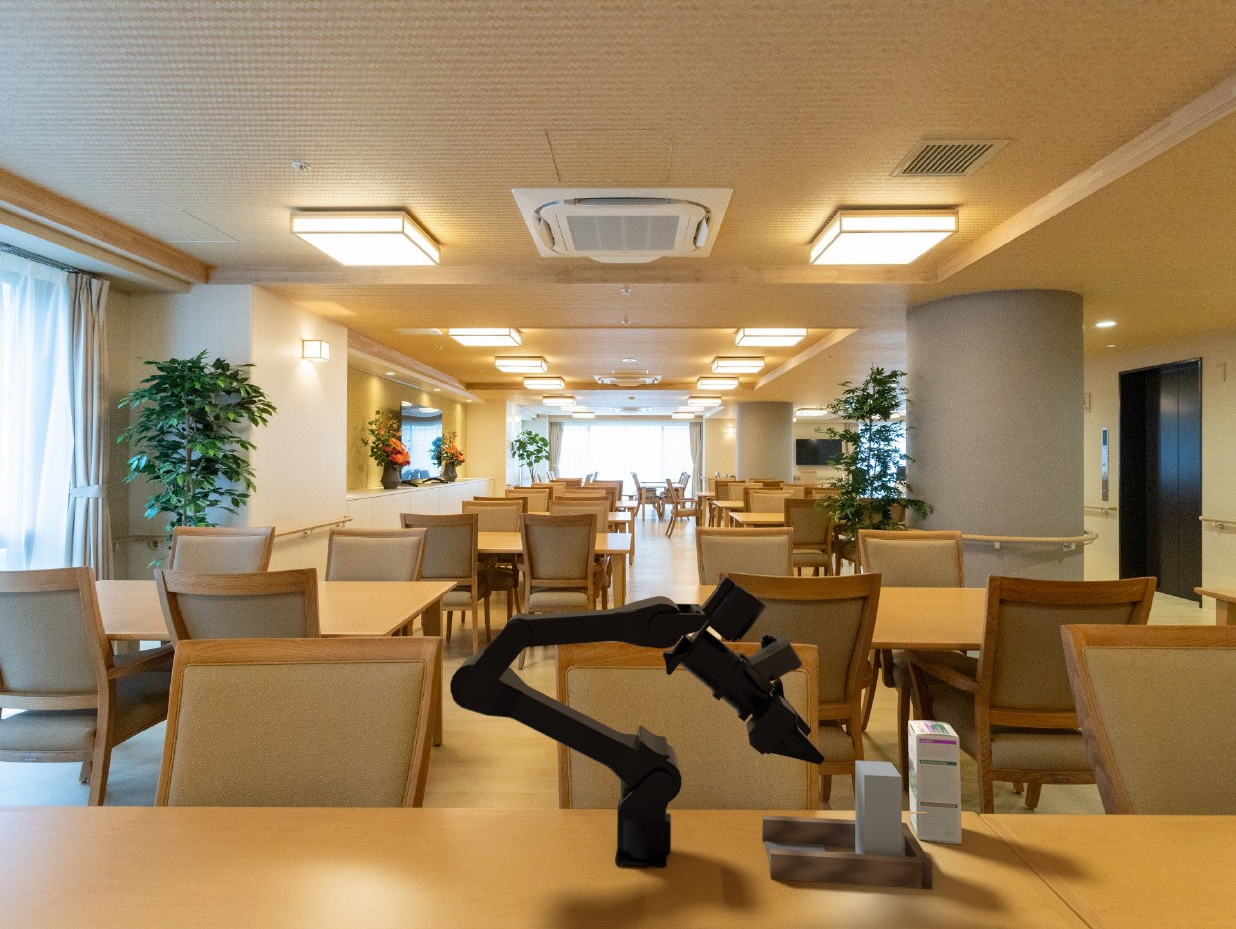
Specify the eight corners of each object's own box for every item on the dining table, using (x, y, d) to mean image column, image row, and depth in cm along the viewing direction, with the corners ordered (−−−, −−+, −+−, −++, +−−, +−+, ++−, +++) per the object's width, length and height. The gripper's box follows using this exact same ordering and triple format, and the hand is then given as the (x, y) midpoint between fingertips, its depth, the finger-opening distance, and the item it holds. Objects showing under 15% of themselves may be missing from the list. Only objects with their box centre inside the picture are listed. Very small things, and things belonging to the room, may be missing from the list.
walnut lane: (770, 878, 84) (770, 853, 84) (761, 837, 94) (761, 815, 94) (932, 888, 83) (932, 863, 83) (906, 845, 92) (906, 822, 92)
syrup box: (963, 845, 93) (962, 735, 93) (916, 840, 94) (915, 732, 94) (951, 824, 98) (951, 721, 99) (907, 820, 99) (906, 718, 100)
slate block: (864, 872, 86) (864, 774, 86) (855, 853, 90) (855, 760, 91) (901, 874, 86) (901, 776, 86) (890, 855, 90) (890, 762, 90)
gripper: (766, 637, 81) (875, 724, 79) (751, 606, 99) (839, 677, 98) (706, 710, 81) (813, 798, 80) (703, 666, 100) (789, 737, 98)
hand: (815, 746), depth 89 cm, fingers open, 9 cm apart
